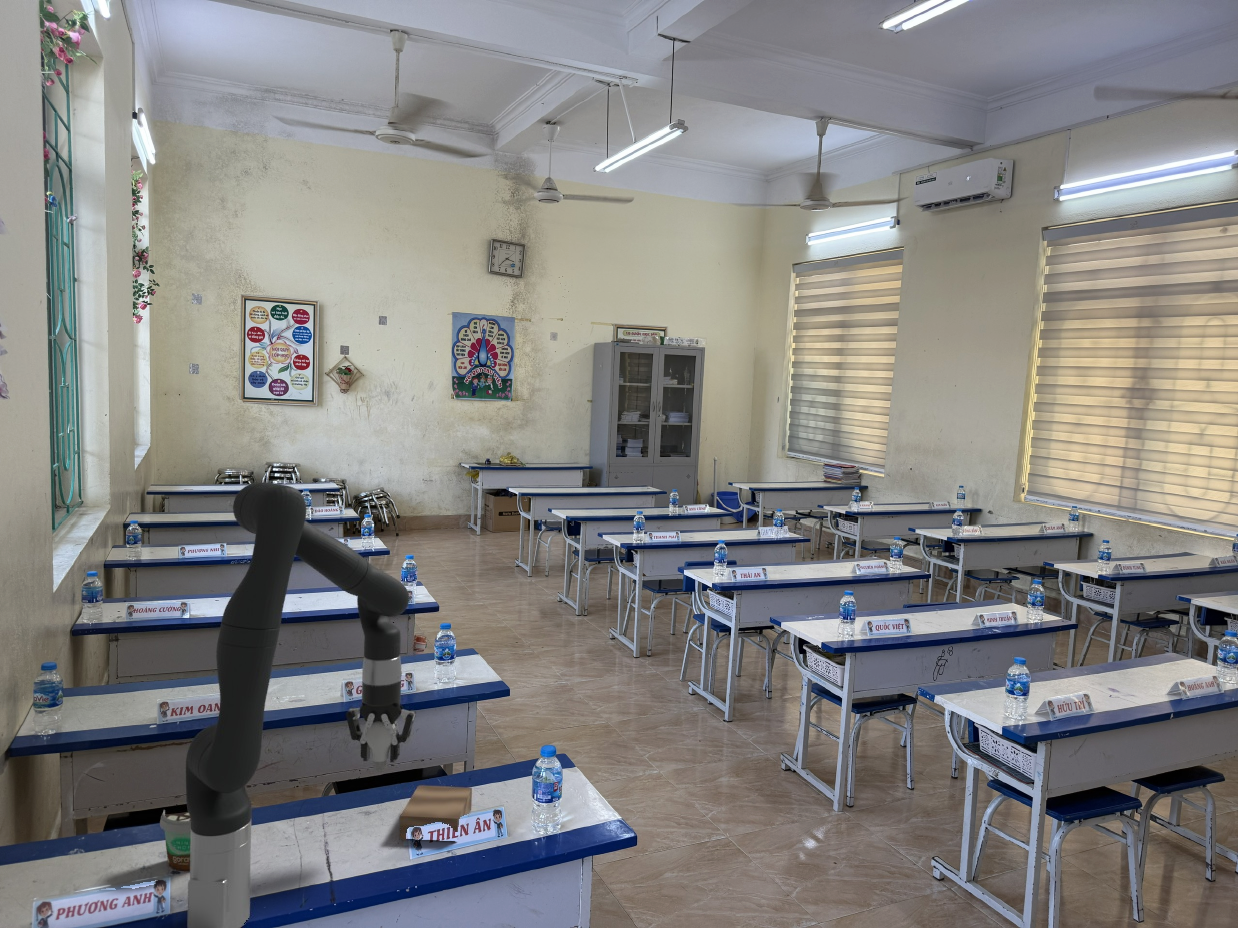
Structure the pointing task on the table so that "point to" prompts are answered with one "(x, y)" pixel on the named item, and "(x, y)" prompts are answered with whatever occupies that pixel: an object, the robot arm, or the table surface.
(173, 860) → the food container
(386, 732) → the lightbulb
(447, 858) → the table surface
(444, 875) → the table surface
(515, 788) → the table surface
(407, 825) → the block
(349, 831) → the table surface
